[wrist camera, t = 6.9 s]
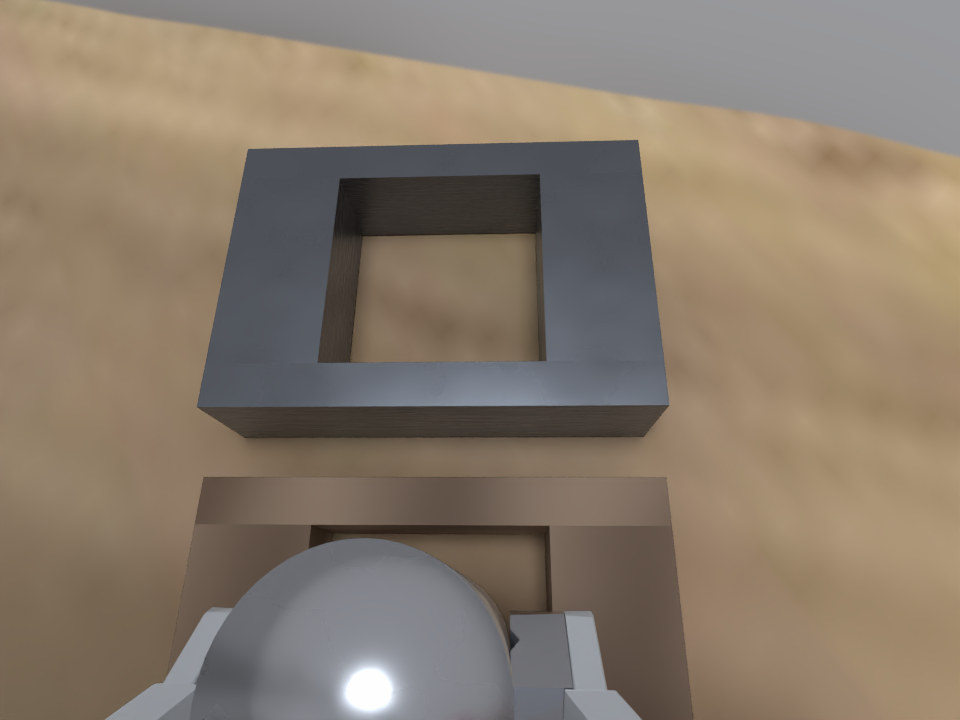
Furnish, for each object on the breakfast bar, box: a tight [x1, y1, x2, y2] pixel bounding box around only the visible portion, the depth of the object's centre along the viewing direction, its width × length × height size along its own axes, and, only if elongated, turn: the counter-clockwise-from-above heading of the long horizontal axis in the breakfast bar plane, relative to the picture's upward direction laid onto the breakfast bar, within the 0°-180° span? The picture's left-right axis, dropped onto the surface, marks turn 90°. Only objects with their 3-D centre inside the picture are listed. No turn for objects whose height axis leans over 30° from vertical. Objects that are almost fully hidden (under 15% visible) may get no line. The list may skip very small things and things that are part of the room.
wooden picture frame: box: [167, 477, 693, 720], centre depth 15 cm, size 12×8×2 cm
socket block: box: [197, 140, 669, 437], centre depth 18 cm, size 12×8×3 cm
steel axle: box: [190, 538, 515, 720], centre depth 11 cm, size 4×4×9 cm
